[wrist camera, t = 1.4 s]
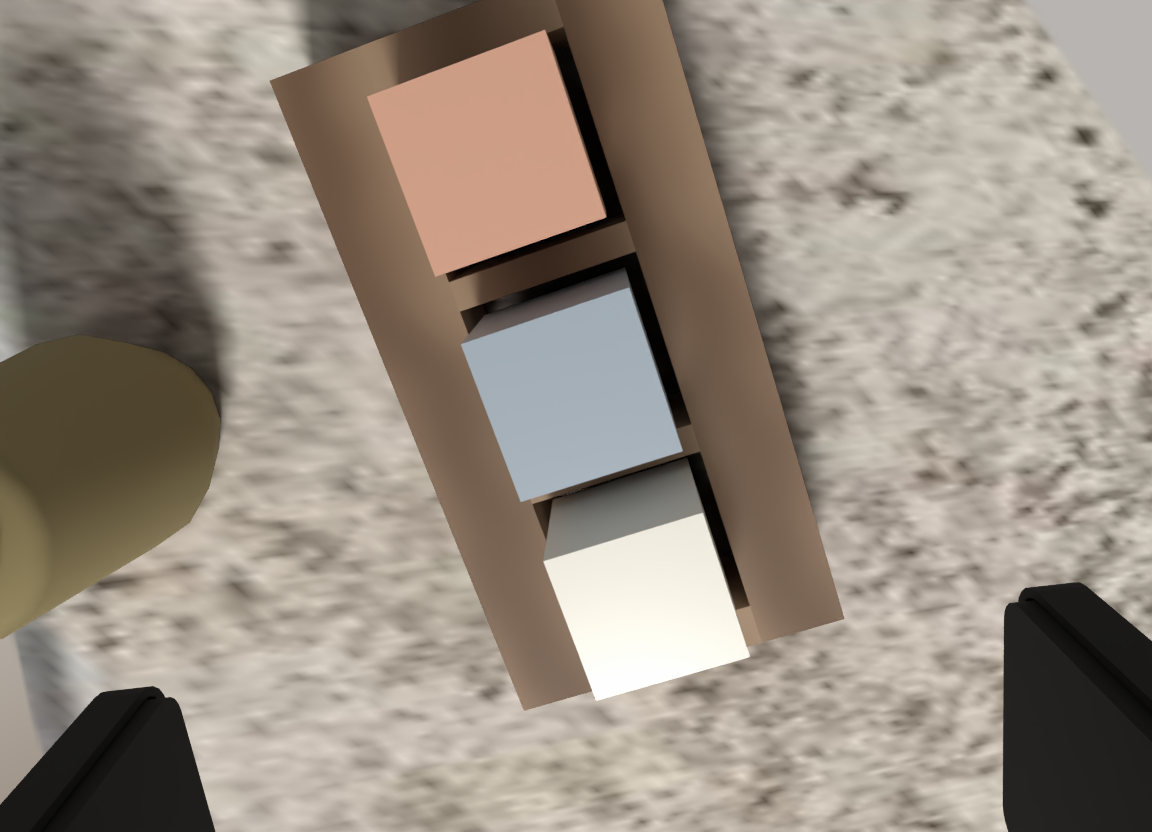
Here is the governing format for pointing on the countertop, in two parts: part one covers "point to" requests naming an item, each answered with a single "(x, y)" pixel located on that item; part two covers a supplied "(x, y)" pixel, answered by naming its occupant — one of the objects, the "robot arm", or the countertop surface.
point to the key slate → (571, 386)
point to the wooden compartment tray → (454, 300)
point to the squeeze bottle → (94, 465)
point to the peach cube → (489, 153)
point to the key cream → (641, 581)
